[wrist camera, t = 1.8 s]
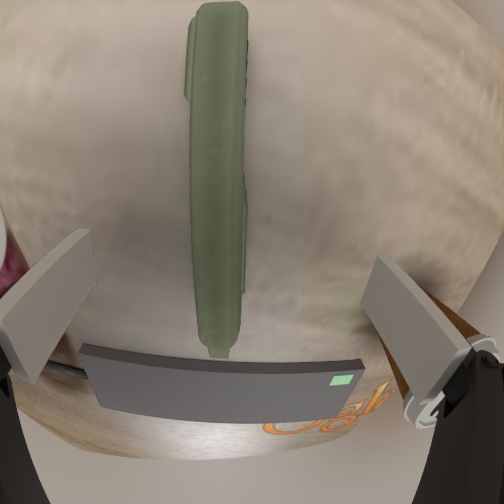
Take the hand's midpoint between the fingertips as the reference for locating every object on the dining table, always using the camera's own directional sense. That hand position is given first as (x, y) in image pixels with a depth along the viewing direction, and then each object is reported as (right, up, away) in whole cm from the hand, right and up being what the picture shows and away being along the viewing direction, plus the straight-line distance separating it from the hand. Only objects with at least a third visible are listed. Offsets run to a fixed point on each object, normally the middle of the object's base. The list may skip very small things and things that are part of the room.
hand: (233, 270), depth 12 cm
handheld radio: (-2, +4, +8) cm, 9 cm away
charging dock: (-7, -14, +16) cm, 22 cm away
